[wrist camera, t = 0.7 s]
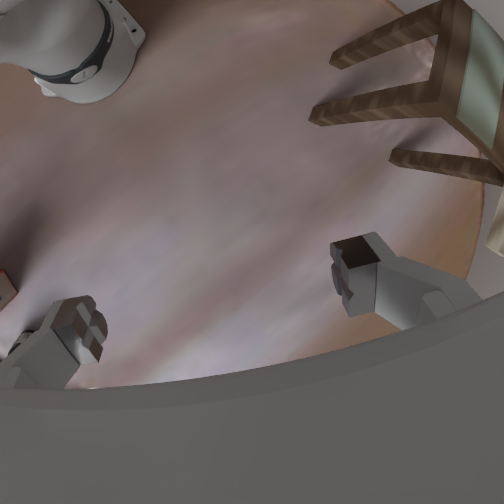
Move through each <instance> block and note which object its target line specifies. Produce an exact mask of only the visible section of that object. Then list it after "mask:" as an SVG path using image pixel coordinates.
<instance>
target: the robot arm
mask: <svg viewBox="0 0 504 504" xmlns="http://www.w3.org/2000/svg"><path fill="white" fill-rule="evenodd" d="M133 30H136V32H135V33H132V31H133ZM145 38H146V33H145V32H144V30H143V29H142V28H141V27H140V26H139V24H138V23H137V22H136V21H135V20H134V19H133V17H132V16H131V15H130V14H129V13H128V12H127V11H126V9H125V8H124V7H123V6H122V5H121V4H120V3H119V2H118V0H0V63H12V64H16V65H19V66H22V67H25V68H27V69H28V70H29V71H30V72H31V73H32V74H33V75H34V76H35V78H34V80H35V82H36V83H38V84H39V85H41V89H42V93H43V94H44V95H45V96H47V97H63V98H65V99H67V100H69V101H72V102H75V103H92V102H96V101H99V100H101V99H103V98H105V97H107V96H109V95H110V94H112V93H113V92H114V91H116V90H117V89H118V88H119V87H120V86H121V85H122V84H123V83H124V81H125V80H126V79H127V77H128V75H129V74H130V72H131V70H132V67H133V64H134V60H135V56H136V52H137V50H138V48H139V47H140V46H141V44H142V43H143V41H144V40H145ZM330 255H331V257H332V259H333V261H334V263H333V264H332V266H331V270H332V277H333V282H334V286H335V289H336V291H337V293H338V294H339V295H341V296H342V304H343V306H344V308H345V310H346V312H347V314H348V316H349V317H353V316H357V315H361V314H365V313H369V312H373V311H375V313H377V314H378V315H380V316H381V317H383V318H384V319H386V320H387V321H389V322H391V323H392V324H394V325H395V326H397V327H398V328H400V329H401V330H402V331H399V332H396V333H393V334H390V335H387V336H384V337H380V338H377V339H374V340H370V341H367V342H364V343H360V344H357V345H353V346H350V347H346V348H343V349H339V350H335V351H331V352H327V353H323V354H319V355H315V356H311V357H307V358H303V359H298V360H294V361H289V362H285V363H280V364H275V365H271V366H266V367H261V368H255V369H250V370H245V371H239V372H233V373H227V374H221V375H215V376H209V377H202V378H195V379H188V380H180V381H172V382H164V383H154V384H144V385H133V386H121V387H105V388H84V389H63V388H64V387H65V385H66V384H67V383H68V381H69V380H70V379H71V377H72V376H73V375H74V374H75V372H76V371H77V370H78V368H79V367H80V365H86V364H94V363H99V360H100V357H101V353H102V350H103V348H102V346H101V344H102V343H103V342H104V341H105V340H106V337H107V334H108V329H107V323H106V320H105V318H104V316H103V315H102V313H100V312H99V311H97V310H96V303H95V301H94V300H93V298H92V297H91V296H89V295H85V296H80V297H74V298H69V299H63V300H59V301H56V302H54V303H53V305H52V306H51V308H50V310H49V312H48V314H47V316H46V317H45V319H44V321H43V323H42V325H41V327H40V329H39V330H37V331H35V332H34V333H33V334H32V335H30V336H29V337H28V338H27V339H26V340H25V341H24V342H23V343H22V344H20V345H19V346H18V347H17V348H16V349H15V350H14V351H13V352H12V353H11V354H9V355H8V356H7V357H6V358H5V359H4V360H3V361H2V362H1V363H0V504H504V291H503V292H501V293H499V294H497V295H494V296H492V297H490V298H487V299H485V300H482V299H481V297H480V296H479V295H478V294H477V293H476V292H475V290H474V289H473V288H472V287H471V286H470V285H469V284H468V283H467V281H466V280H465V279H462V278H460V277H457V276H454V275H452V274H449V273H446V272H444V271H441V270H438V269H436V268H433V267H430V266H427V265H425V264H422V263H419V262H416V261H414V260H411V259H408V258H405V257H402V256H401V257H397V256H396V255H395V254H394V252H393V251H392V250H391V249H390V248H389V246H388V245H387V244H386V243H385V242H384V241H383V240H382V238H381V237H380V236H379V235H378V234H377V233H376V232H371V233H367V234H364V235H360V236H356V237H352V238H349V239H345V240H341V241H337V242H333V243H330Z"/></svg>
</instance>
